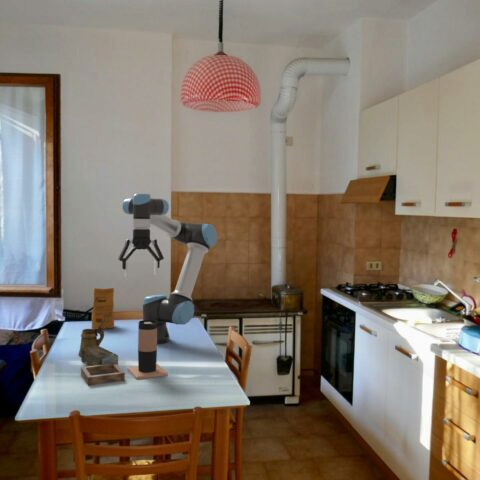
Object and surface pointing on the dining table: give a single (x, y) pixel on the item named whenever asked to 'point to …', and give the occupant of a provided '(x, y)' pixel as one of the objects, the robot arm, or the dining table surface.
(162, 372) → the coaster tile
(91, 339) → the wooden mug
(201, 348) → the dining table surface
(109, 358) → the beverage carton
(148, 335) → the travel mug
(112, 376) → the collar
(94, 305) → the coffee package
